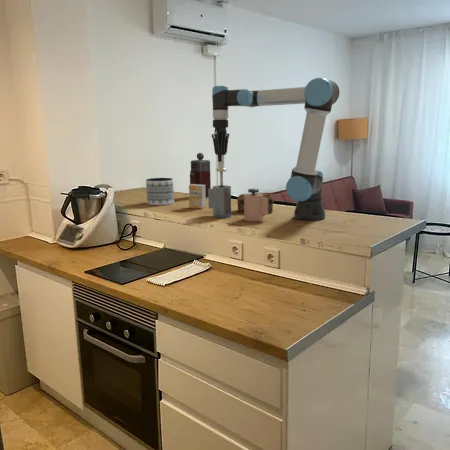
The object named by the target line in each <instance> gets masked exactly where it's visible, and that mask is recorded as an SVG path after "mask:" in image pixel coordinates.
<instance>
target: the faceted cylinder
mask: <svg viewBox="0 0 450 450" xmlns="http://www.w3.org/2000/svg"><path fill="white" fill-rule="evenodd" d="M207 198H208V209H211V210H212V217H214V218H218V219H227V218H230V217H232V186H231V185H226V184H225V185H224V184H223V187H220V184H219V185H213V186H212V187H211V189H208V197H207Z"/></svg>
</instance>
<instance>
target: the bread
mask: <svg viewBox="0 0 450 450" xmlns="http://www.w3.org/2000/svg"><path fill="white" fill-rule="evenodd" d="M245 194H246V193H240V194H239V195H238V196H237V202H236V203H237V212H238V214H241V213H243V214H244V195H245ZM255 194H263V197H264V198H268V214H269V213H272V212H274V211H273V207H274V206H273V205H274V193H272V192H257V193H255Z"/></svg>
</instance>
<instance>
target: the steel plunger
mask: <svg viewBox="0 0 450 450" xmlns="http://www.w3.org/2000/svg"><path fill="white" fill-rule="evenodd" d="M215 171H216V172H217V173H218V172H219V179H220V180H219V185H220V187H223V185H224V172H227V168H226V167H224V168H218V167H217V168H216V169H215Z"/></svg>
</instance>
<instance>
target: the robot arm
mask: <svg viewBox="0 0 450 450" xmlns="http://www.w3.org/2000/svg"><path fill="white" fill-rule="evenodd" d="M211 94H212V95H211V97H212V118H213V120H212V128H214V130H213V131H214V133H211V138H212V142H213V150H214V154H215V156H217V168H225V156H226V155H227V153H228V144H229V139H230V133H228V132H227V131H228V130H227V128H228V127H229V120H228V119H229V107H248V108H255V107H267V106H268V107H269V106H284V105H285V106H286V105H288V106H289V105H300V104H301V105H302V104H304V107H303V108H304V111H305V112H306V115H305V120H304V126H303V131H302V136H301V141H300V145H299V150H298V155H297V160H296V165H295V166H294V167H293V168H292V169H291V174H290V178H289V179H288V180H287V182H286V184H285V192H286V194H287V196H288V197H289V198H290V199H291V200H293V201H294V202H296V206H295V208H294V211H293V217H294V219H297V220H301V221H302V220H303V221H317V220H318V221H319V220H323V219H325V218H326V211H325V208H324V204H323V187H324V186H323V181H324V176H323V175H324V173H323V172H322V171H321V170H316V167H317V161H318V157H319V152H320V149H321V148H320V147H321V142H322V137H323V135H324V134H323V133H324V128H325V123H326V118H327V116H328V115H329V114H330V113H331V111H332V107H333V105H334V104H336V103H337V101H338V99H339V97H340V88H339V85H338V84H337V83H336V82H335V81H333V80H331V79H329V78H326V77H315V78H313V79H311V80H309V81H308V82H307V84H306V86H303V87H302V86H300V87H287V88H285V87H284V88H275V89H274V88H271V89H261V90H257V89H256V90H251V89H249V88H248V89H247V88H241V89H229V87H228V86H227V85H214V86H213V87H212V91H211Z"/></svg>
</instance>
